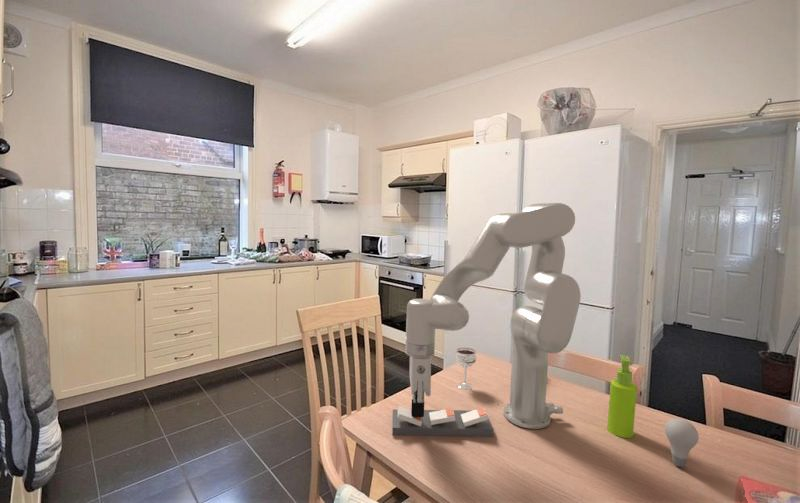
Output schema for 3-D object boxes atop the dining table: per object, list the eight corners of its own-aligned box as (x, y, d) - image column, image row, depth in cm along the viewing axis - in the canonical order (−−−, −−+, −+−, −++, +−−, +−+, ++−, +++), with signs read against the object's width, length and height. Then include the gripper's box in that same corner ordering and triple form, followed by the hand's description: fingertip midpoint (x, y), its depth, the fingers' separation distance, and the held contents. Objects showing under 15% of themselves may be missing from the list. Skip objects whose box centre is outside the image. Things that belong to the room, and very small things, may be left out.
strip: (484, 417, 103) (485, 408, 103) (493, 436, 94) (493, 426, 94) (392, 416, 103) (392, 407, 103) (392, 435, 94) (392, 425, 94)
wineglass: (452, 381, 126) (453, 347, 125) (471, 381, 126) (472, 347, 125) (457, 390, 119) (458, 355, 118) (477, 390, 120) (479, 354, 119)
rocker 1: (419, 418, 98) (421, 413, 98) (420, 426, 95) (422, 421, 94) (397, 409, 98) (399, 405, 98) (397, 417, 94) (399, 413, 94)
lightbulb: (684, 478, 80) (689, 430, 79) (656, 460, 86) (660, 416, 85) (701, 470, 83) (706, 424, 82) (672, 454, 88) (676, 411, 87)
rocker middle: (453, 412, 98) (452, 407, 98) (455, 420, 94) (454, 415, 94) (429, 416, 98) (428, 411, 98) (431, 425, 95) (430, 420, 94)
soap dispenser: (630, 426, 100) (636, 355, 98) (634, 440, 94) (640, 364, 92) (606, 421, 103) (611, 352, 101) (608, 434, 96) (614, 360, 95)
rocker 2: (484, 411, 99) (483, 406, 98) (488, 419, 95) (486, 414, 94) (461, 418, 99) (460, 413, 99) (464, 426, 95) (463, 422, 95)
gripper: (438, 358, 87) (434, 432, 89) (431, 338, 102) (429, 401, 104) (406, 358, 87) (404, 431, 89) (404, 337, 102) (402, 400, 103)
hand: (417, 415), depth 96 cm, fingers closed
